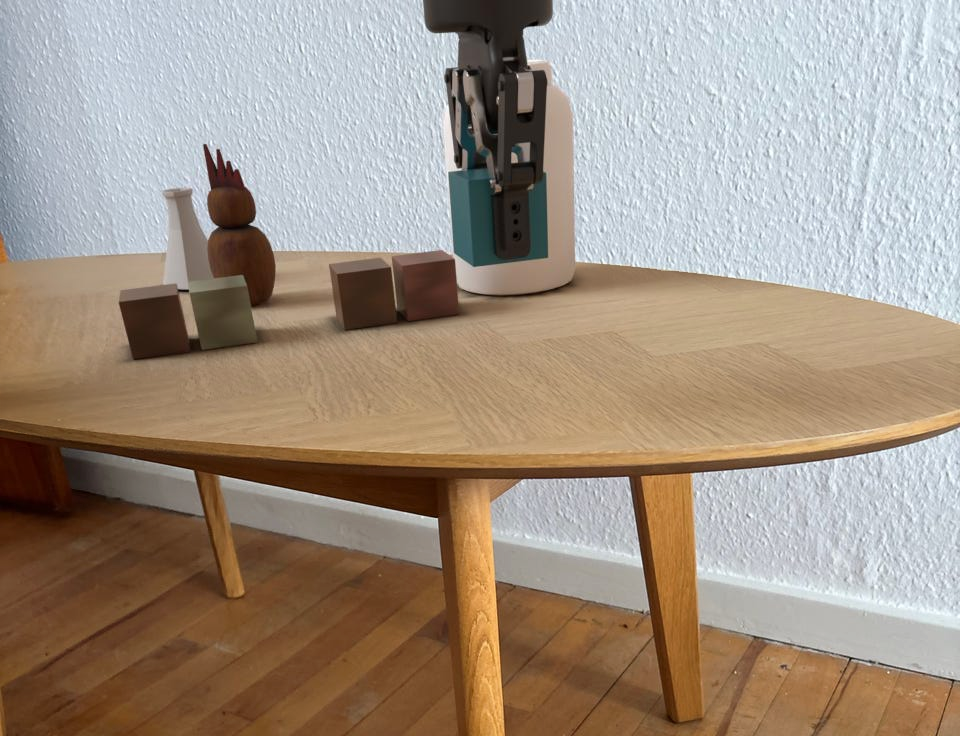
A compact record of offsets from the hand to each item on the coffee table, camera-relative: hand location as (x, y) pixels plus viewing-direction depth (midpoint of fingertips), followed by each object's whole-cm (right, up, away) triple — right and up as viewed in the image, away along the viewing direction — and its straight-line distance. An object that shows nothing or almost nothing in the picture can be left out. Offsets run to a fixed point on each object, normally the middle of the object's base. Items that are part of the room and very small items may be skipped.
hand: (499, 248), depth 65 cm
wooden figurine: (-25, +10, +39) cm, 48 cm away
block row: (-18, +4, +28) cm, 34 cm away
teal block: (0, 0, 0) cm, 0 cm away
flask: (-34, +15, +49) cm, 61 cm away
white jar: (+2, +12, +39) cm, 40 cm away
